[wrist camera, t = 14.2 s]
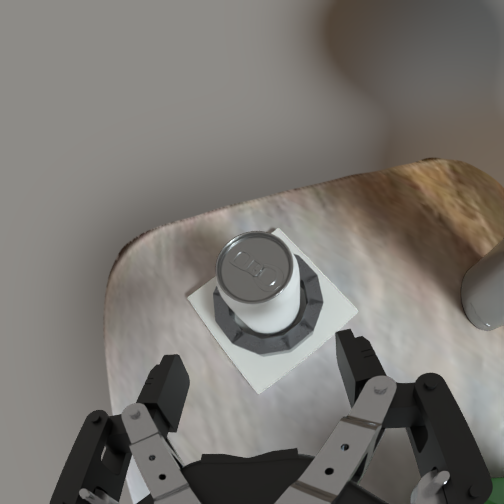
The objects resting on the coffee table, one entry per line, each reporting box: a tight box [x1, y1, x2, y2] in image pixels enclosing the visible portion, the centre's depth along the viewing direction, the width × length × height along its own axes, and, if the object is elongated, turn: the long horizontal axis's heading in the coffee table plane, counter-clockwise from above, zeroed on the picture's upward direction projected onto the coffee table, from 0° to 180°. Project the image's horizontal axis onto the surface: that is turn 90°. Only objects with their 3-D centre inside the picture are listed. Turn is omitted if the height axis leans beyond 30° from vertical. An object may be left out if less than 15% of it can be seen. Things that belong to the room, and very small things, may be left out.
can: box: [215, 231, 300, 336], centre depth 25 cm, size 6×6×12 cm
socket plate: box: [187, 228, 358, 395], centre depth 31 cm, size 14×14×1 cm
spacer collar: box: [213, 254, 324, 357], centre depth 29 cm, size 11×11×3 cm
